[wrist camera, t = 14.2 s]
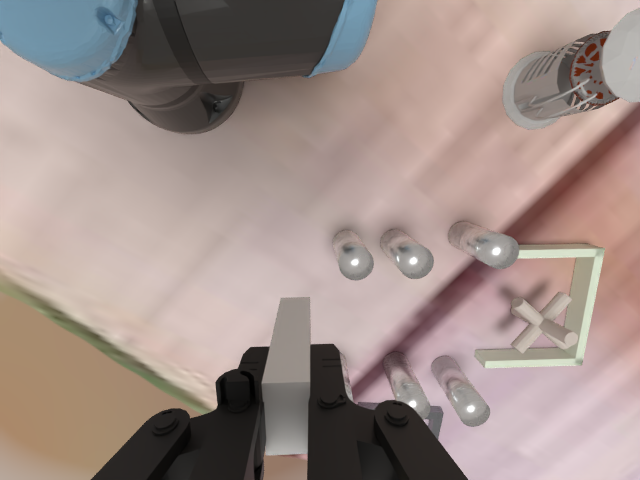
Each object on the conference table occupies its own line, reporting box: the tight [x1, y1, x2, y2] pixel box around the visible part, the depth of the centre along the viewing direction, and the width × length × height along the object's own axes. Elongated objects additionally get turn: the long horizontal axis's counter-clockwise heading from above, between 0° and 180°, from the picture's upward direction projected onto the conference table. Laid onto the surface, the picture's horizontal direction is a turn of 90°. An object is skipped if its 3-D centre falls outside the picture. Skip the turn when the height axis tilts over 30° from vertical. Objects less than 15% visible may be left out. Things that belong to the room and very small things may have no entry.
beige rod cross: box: [511, 292, 578, 354], centre depth 44 cm, size 10×10×10 cm
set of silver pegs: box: [333, 221, 519, 427], centre depth 43 cm, size 26×23×10 cm
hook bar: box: [358, 402, 443, 439], centre depth 52 cm, size 14×6×1 cm, turn 85°
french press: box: [503, 8, 640, 129], centre depth 30 cm, size 10×12×25 cm
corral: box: [475, 244, 605, 368], centre depth 47 cm, size 19×15×3 cm
